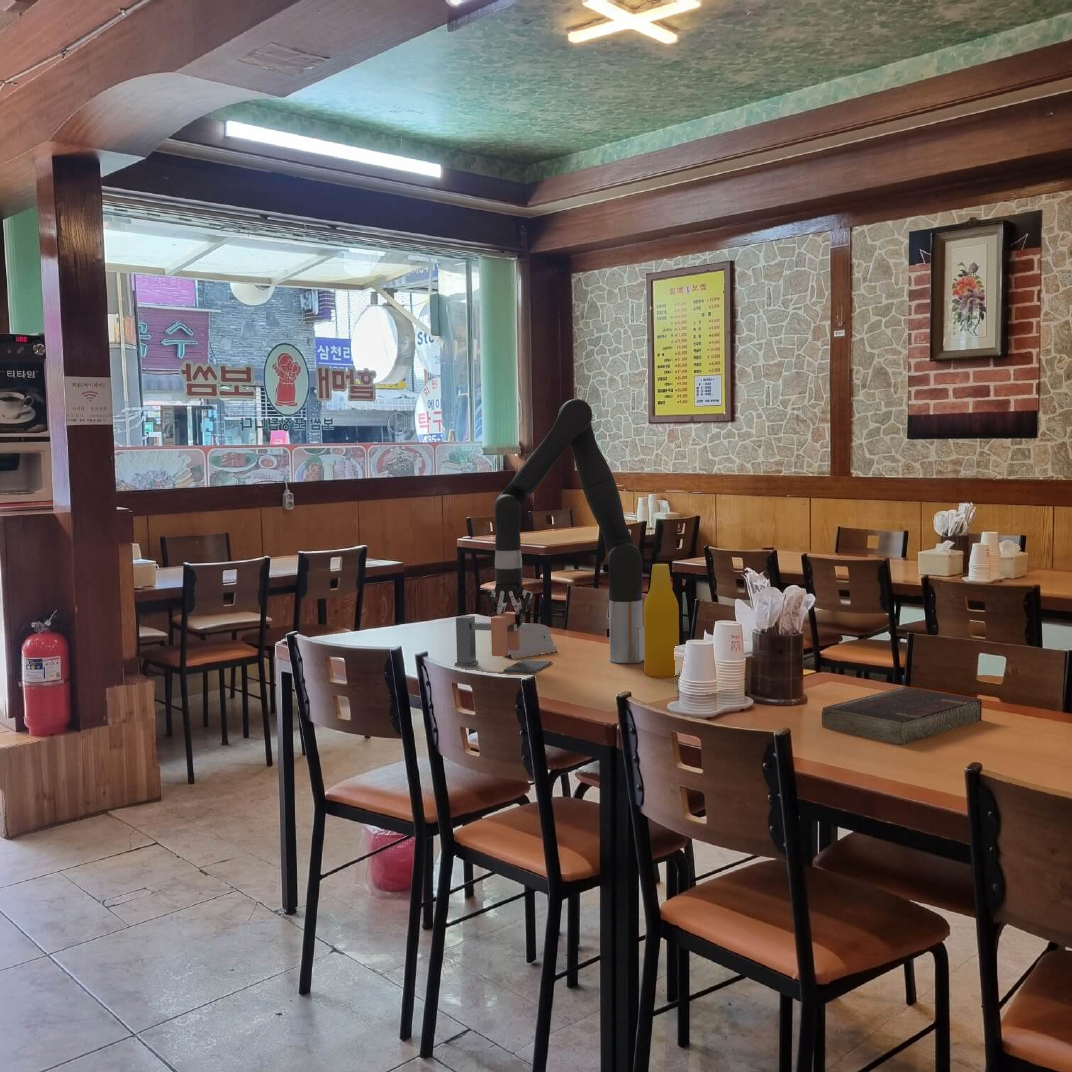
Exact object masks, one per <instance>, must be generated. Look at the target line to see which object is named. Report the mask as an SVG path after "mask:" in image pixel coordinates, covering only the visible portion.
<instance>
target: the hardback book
mask: <svg viewBox="0 0 1072 1072" xmlns="http://www.w3.org/2000/svg"><path fill="white" fill-rule="evenodd" d="M982 703H983V701H982V699H981V698H975V697H970V696H966V695H965V696H964V695H957V694H951V693H945V692H938V691H934V690H933V691H932V690H928V689H927V690H926V689H919V688H914V687H913V688H912V687H906V686H902V687H898V688H895V689H891V690H887V691H884V692H879V693H876V694H871V695H867V696H863V697H859V698H856V699H851V700H847V701H845V702H844V701H843V702H840V703H837V704H836V703H835V704H832V705H829V706H823V707H822V711H821V726H822V728H825V729H830V730H833V731H834V730H835V731H837V732H838V731H839V732H843V733H846V734H851V735H854V736H859V737H864V738H869V739H872V740H876V741H881V742H886V743H890V744H894V745H899V746H903V745H906V744H910V743H914V742H916V741H919V740H922V739H926V738H929V737H932V736H935V735H939V734H942V733H945V732H949V731H951V730H954V729H958V728H960V727H964V726H967V725H971V724H975V723H977V722H981V721H982V715H983V714H982V710H983V709H982V707H983V704H982Z"/></svg>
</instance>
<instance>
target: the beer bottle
mask: <svg viewBox="0 0 1072 1072" xmlns="http://www.w3.org/2000/svg"><path fill="white" fill-rule="evenodd" d="M651 566H652V568H651V579H650V587H649V590H648V593H647V595H646V596H645V600H644V602H643V603H644V604H643V626H644V660H643V663H644V664H643V665H644V667H643V671H644V674H645V676H647V677H649V678H656V679H660V678H661V679H668V678H675V677H674V675H675V660H674V648H675V646H679V647H680V627H679V626H680V623H679V621H680V620H679V619H680V617H679V616H680V615H679V613H680V610H679V609H680V608H679V602H678V599H677V597H676V594H675V593H674V591H673V587H672V583H671V574H670V573H671V572H670V567H669V563H653V564H652V565H651Z"/></svg>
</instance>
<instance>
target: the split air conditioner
mask: <svg viewBox="0 0 1072 1072" xmlns="http://www.w3.org/2000/svg"><path fill="white" fill-rule="evenodd" d="M554 651H557V652H558V648H557V645H556V644H555V643H554V640H553V639H552V635H551V633H550V629H549V627H548V626H547V625H545V624H542V623H522V625H521V626H520V650H508V656H507V657H511V659H512V660H515V659H522V658H527V656H529V657H534V655H535V656H539V655H538V654H541V653H548V654H551V653H550V652H554ZM554 653H555V652H554ZM541 655H542V654H541ZM502 657H504V656H502ZM504 658H505V657H504Z"/></svg>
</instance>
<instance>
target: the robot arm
mask: <svg viewBox="0 0 1072 1072" xmlns="http://www.w3.org/2000/svg"><path fill="white" fill-rule="evenodd" d="M592 421H593V411H592V407H591V406H590V405H589V403H587V401H585V400H583V399H579V398H573V399H570V400H567V401H566V402H565V403H563V404H562V405H561V406H560V408H559V409H558V413H557V418H556V420H555V421H554V424H553V426H552V427H551V429H550V431H549V432H548V434H547V435H546V437H545V438H544V439H543V440H542V441H541V443H540V444H539V445H538V447H536V448H535V450H534V451H533V452H532V453H531V455H529V456H528V458H527V459H526V461H525V462H524V463H523V465H521V467H520V468H519V470H518V471H517V472H516V474H515V475H514V476H513V479H512V480H511V481H510V483H508V485H507V486H506V487H505V488H504V489H503V491H502V492H501V493H500V494H499V495H498V497H497V498H496V500H495V501H494V504H493V509H494V512H495V514H494V515H495V527H496V531H495V535H494V536H495V538H494V539H495V540H494V541H495V543H494V544H495V546H494V547H495V554H494V555H495V556H494V571H495V572H494V575H495V576H494V577H495V580H494V581H495V587H494V589H492V590H491V589H490V590H487V591H485V596H486V599H487V602H488V605H489V608H490V611H491V612H492V613H496V614H497V615H499V614H502V613H504V612H505V609H506V606H507V604H508V603H510V604H511V605H512V607H513V610H514V612H515V613H516V615H515V624H517V628H520V626H521V625H522V624H523V614H524V613H527V612H528V611H529V610H530V607H531V606H530V605H531V602H532V599H533V596H534V592H533V591H531V590H530V591H529V590H526V589H525V587H524V586H523V557H522V552H521V551H522V550H521V548H522V546H521V543H522V542H521V531H520V530H521V515H522V514H521V508H522V506H523V505H524V504H525V503H526V501H527V500H528V498H529V497H530V496H531V495H533V493H534V492H536V490H537V489H538V488H539V486H540V485H541V484H542V482H544V479H545V478H546V477H547V476H548V474H549V473H550V471H551V470H552V468H553V467H554V465H556V463H557V461H558V459H559V458H560V457H561V455H562V454H563V453H564V451H565V450H566V449H567V447H568V446H569V447H570V449H571V453H572V456H573V459H574V462H575V467H576V471H577V474H578V475H577V476H578V478H579V482H580V484H581V488H582V492H583V494H584V497H585V499H586V502H587V505H588V507H589V509H590V511H591V514H592V516H593V517H594V520H595V521H596V524H597V525H598V527H599V529H600V532H601V534H602V538H603V542H604V546H605V550H606V554H607V562H608V607H609V608H608V609H609V610H608V611H609V612H608V616H609V617H608V618H609V621H608V623H609V626H608V627H609V661H610V662H612V663H617V664H636V663H637V664H640V663H642V662H644V625H643V558H642V553H641V552H640V549H639V548H638V546H637V545H636V543H635V541H634V539H633V537H632V535H631V533H630V530H629V528H628V526H627V523H626V520H625V516H624V515H625V514H624V511H623V510H624V508H623V504H622V500H621V497H620V491H619V489H618V486H617V483H616V481H615V477H614V475H613V473H612V470H611V468H610V465H608V462H607V460H606V459H605V457H604V454H603V453H602V452H601V450H600V447H599V446H598V443H597V441H596V437H595V433H594V430H593V425H592ZM522 595H523V599H524V600H523V603H522V602H521V599H520V598H521V597H522ZM496 596H497V597H498V603H497V600H496Z"/></svg>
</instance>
